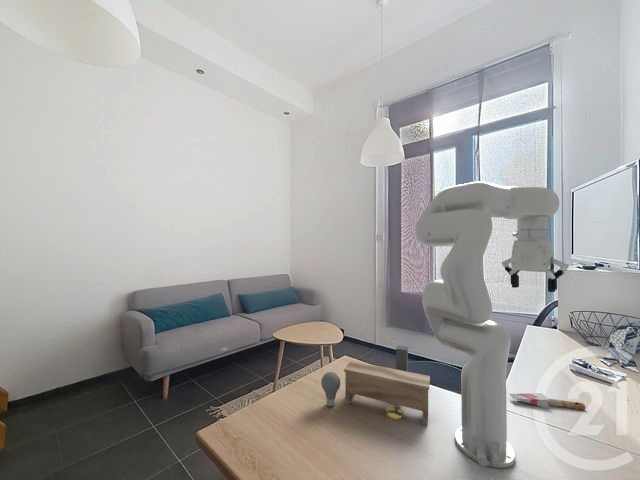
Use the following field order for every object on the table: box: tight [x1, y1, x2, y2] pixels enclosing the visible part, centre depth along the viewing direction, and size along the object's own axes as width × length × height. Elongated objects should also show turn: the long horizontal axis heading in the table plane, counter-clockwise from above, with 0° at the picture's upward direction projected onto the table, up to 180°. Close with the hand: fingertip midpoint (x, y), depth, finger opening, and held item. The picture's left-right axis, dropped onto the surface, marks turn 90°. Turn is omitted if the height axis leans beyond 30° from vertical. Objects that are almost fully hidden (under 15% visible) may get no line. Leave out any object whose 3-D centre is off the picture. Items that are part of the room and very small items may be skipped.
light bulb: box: [320, 371, 341, 407], centre depth 82 cm, size 6×6×10 cm
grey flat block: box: [395, 345, 409, 372], centre depth 89 cm, size 12×4×14 cm, turn 155°
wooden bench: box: [343, 360, 431, 427], centre depth 81 cm, size 7×25×11 cm, turn 65°
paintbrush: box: [509, 392, 586, 411], centre depth 83 cm, size 4×3×20 cm
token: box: [385, 405, 405, 422], centre depth 77 cm, size 5×5×2 cm
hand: (532, 289), depth 83 cm, fingers open, 9 cm apart
